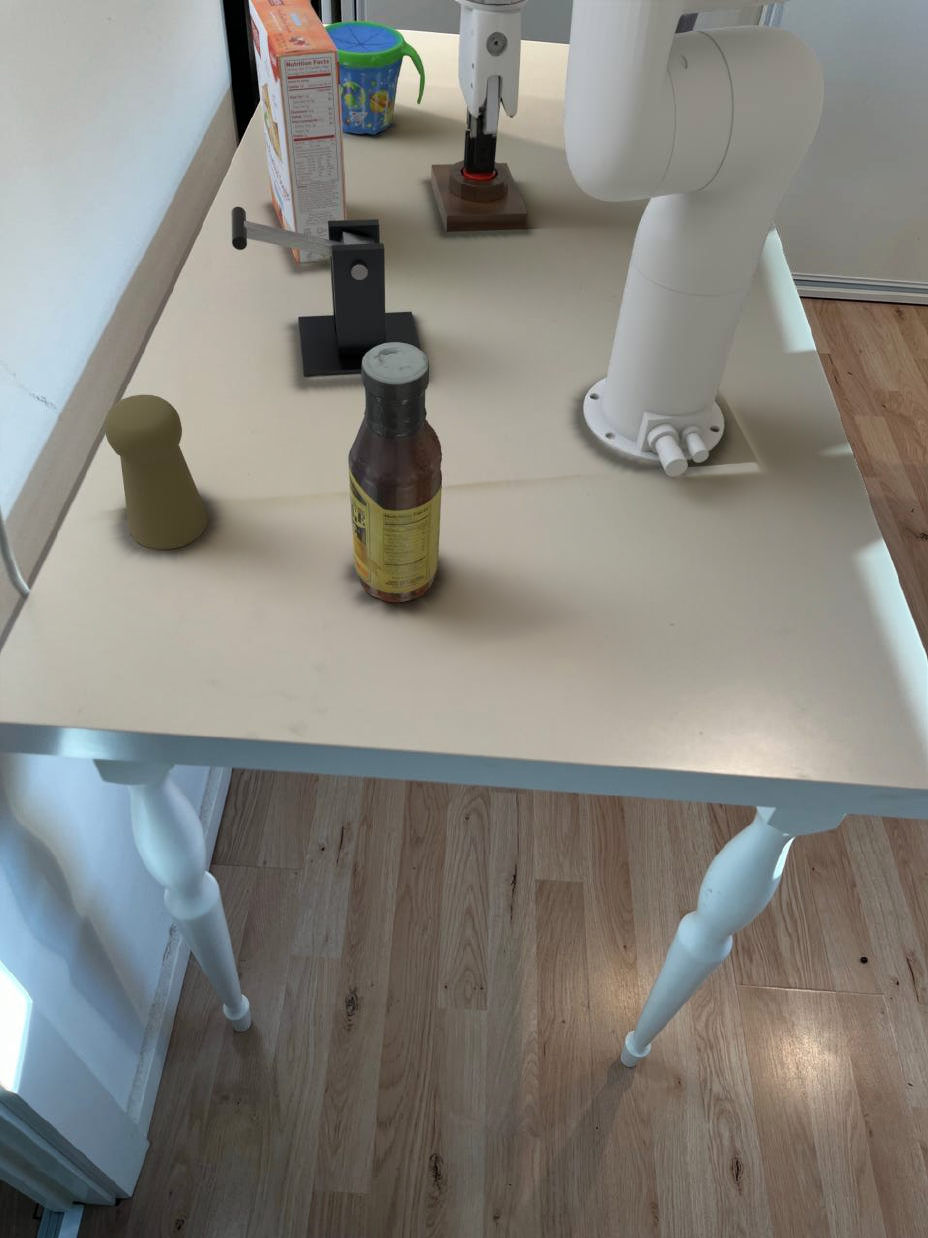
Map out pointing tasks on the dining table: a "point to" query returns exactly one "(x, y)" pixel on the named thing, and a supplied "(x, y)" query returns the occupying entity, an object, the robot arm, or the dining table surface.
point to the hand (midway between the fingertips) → (478, 169)
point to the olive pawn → (155, 473)
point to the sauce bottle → (395, 477)
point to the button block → (477, 200)
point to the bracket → (353, 307)
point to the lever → (285, 236)
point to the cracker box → (300, 117)
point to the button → (479, 176)
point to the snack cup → (370, 73)
